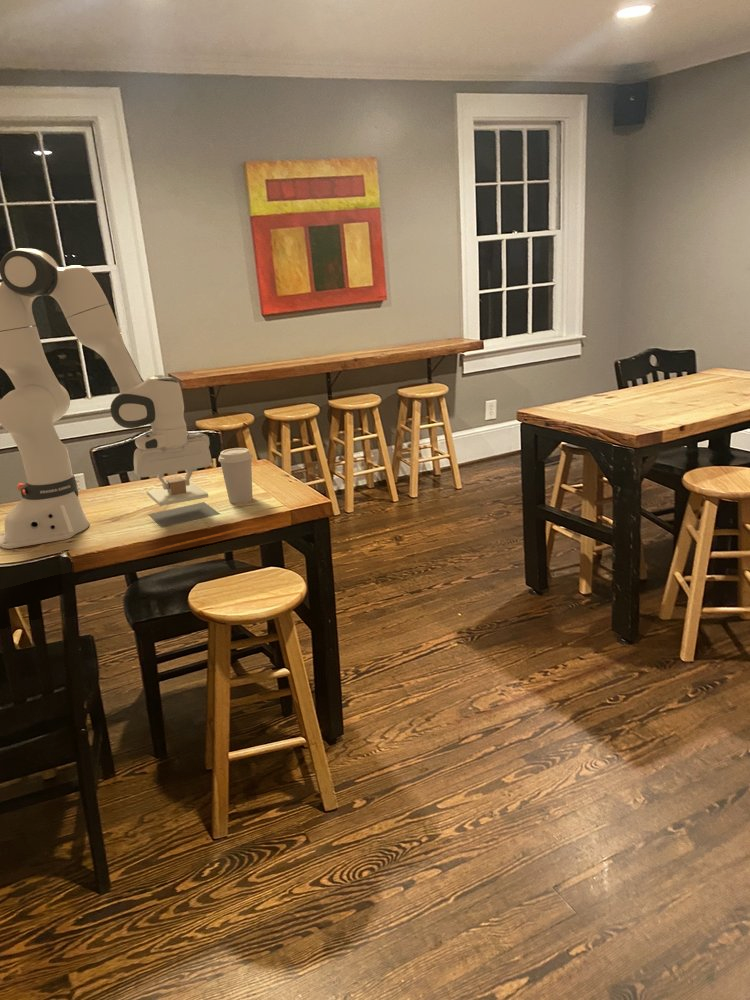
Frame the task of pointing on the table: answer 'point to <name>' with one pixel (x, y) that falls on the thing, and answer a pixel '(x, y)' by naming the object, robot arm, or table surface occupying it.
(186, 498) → the lid
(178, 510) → the mat
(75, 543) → the table surface
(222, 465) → the coffee cup
